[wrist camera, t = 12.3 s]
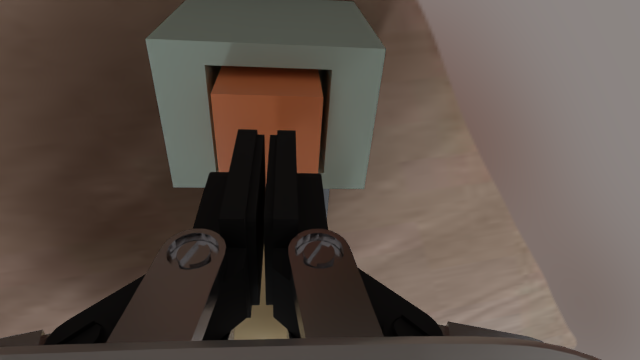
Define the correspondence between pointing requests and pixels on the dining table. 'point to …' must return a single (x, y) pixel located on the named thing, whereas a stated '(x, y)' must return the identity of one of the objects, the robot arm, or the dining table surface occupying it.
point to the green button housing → (276, 52)
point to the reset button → (268, 110)
